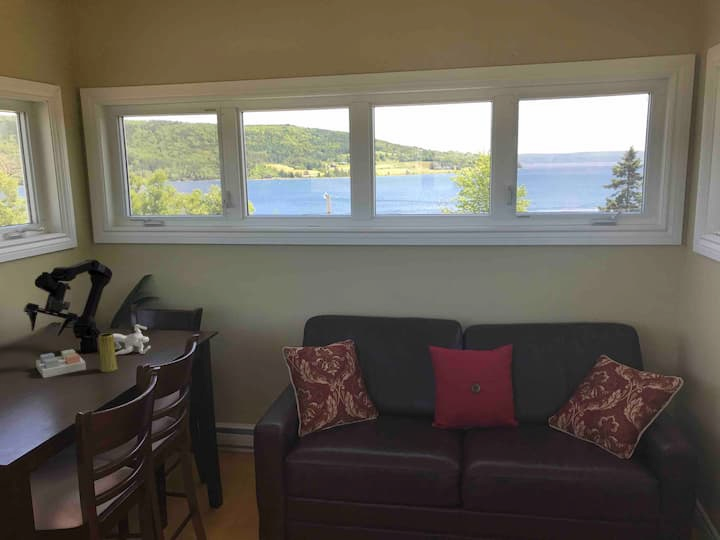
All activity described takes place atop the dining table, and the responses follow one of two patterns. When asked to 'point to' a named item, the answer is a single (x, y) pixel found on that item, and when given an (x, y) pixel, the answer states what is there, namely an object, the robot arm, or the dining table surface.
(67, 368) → the keypad
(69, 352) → the key sage
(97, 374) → the dining table surface
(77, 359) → the key terracotta
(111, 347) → the vase
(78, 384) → the dining table surface
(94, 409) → the dining table surface
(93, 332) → the robot arm
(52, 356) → the key slate
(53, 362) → the key grey
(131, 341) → the person figurine
